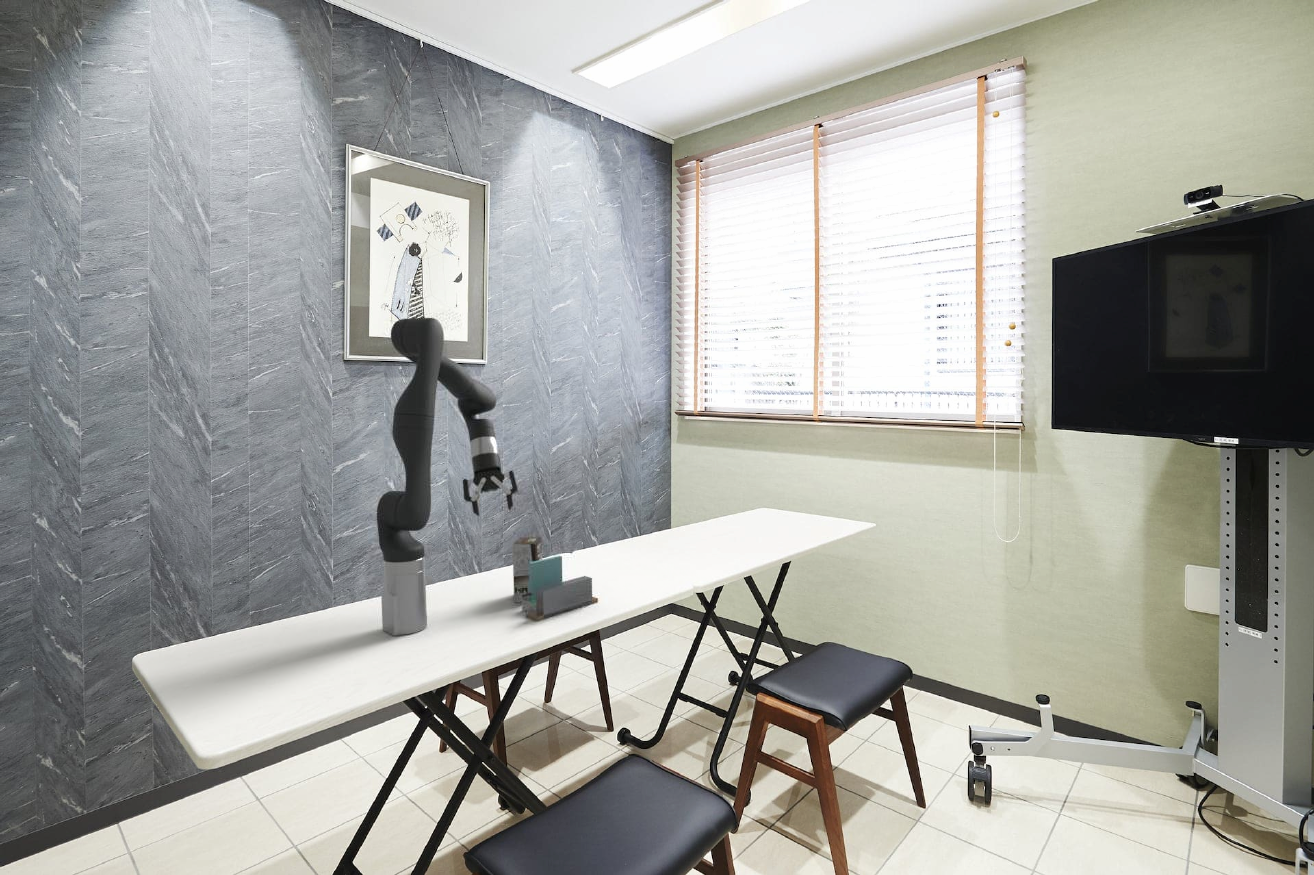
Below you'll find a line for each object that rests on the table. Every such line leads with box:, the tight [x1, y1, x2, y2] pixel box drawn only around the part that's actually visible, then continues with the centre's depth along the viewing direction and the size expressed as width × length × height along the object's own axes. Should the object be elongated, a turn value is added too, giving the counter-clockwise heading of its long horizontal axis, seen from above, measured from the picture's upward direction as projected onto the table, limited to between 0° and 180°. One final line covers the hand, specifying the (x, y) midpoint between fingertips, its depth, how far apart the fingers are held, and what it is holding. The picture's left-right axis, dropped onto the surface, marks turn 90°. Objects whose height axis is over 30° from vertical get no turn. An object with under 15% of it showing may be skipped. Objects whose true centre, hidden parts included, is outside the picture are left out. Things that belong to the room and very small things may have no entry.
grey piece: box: [521, 575, 599, 622], centre depth 171 cm, size 20×10×7 cm, turn 137°
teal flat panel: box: [522, 555, 563, 599], centre depth 173 cm, size 13×1×10 cm, turn 137°
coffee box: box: [512, 536, 543, 603], centre depth 179 cm, size 9×6×16 cm
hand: (494, 512), depth 176 cm, fingers open, 8 cm apart
